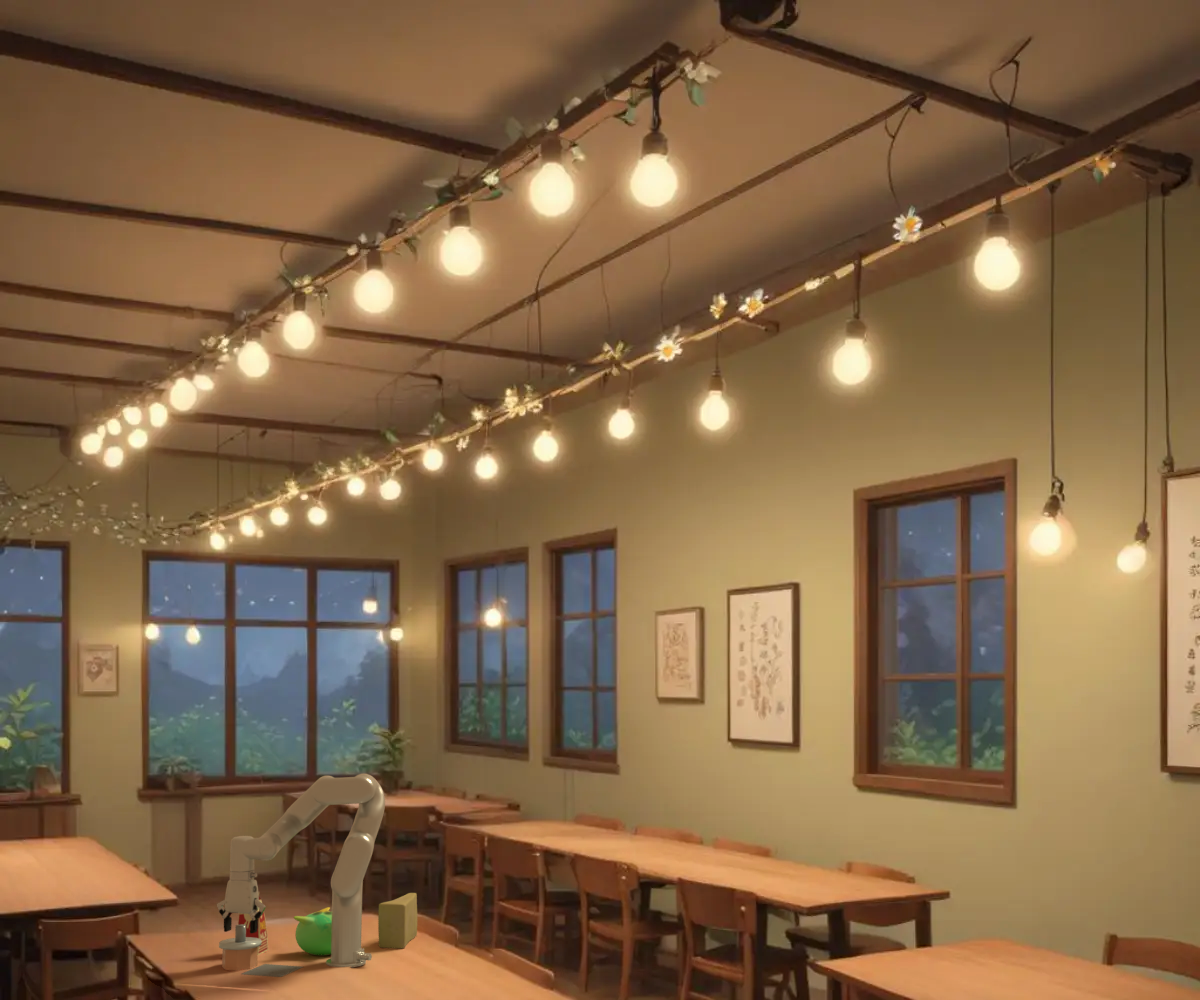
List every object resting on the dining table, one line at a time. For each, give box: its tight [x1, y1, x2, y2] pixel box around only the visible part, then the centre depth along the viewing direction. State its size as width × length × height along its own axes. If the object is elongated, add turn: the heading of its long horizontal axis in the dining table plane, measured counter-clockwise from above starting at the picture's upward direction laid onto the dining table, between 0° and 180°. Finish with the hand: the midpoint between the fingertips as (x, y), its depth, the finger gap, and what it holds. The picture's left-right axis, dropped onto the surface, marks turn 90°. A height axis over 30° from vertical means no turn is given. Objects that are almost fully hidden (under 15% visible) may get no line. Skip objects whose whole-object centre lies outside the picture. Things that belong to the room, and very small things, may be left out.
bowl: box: [221, 947, 258, 971], centre depth 417 cm, size 10×10×7 cm
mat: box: [241, 963, 303, 978], centre depth 411 cm, size 14×14×1 cm
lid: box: [218, 924, 262, 950], centre depth 417 cm, size 13×13×6 cm
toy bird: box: [293, 906, 332, 956], centre depth 435 cm, size 18×17×15 cm
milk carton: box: [237, 891, 269, 956], centre depth 438 cm, size 9×9×20 cm
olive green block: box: [377, 892, 418, 950], centre depth 455 cm, size 22×10×15 cm, turn 166°
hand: (240, 931), depth 418 cm, fingers open, 9 cm apart
